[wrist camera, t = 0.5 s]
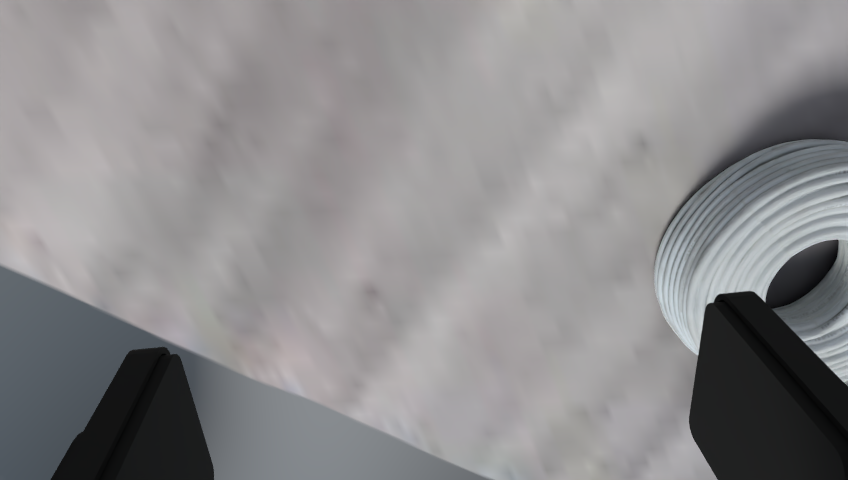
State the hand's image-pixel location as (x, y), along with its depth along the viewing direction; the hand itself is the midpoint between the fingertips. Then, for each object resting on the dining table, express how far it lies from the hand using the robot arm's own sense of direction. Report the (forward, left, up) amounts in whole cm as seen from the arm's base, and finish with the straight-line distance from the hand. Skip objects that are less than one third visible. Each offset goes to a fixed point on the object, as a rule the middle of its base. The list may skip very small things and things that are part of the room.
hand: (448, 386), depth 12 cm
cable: (+10, +28, -30) cm, 42 cm away
